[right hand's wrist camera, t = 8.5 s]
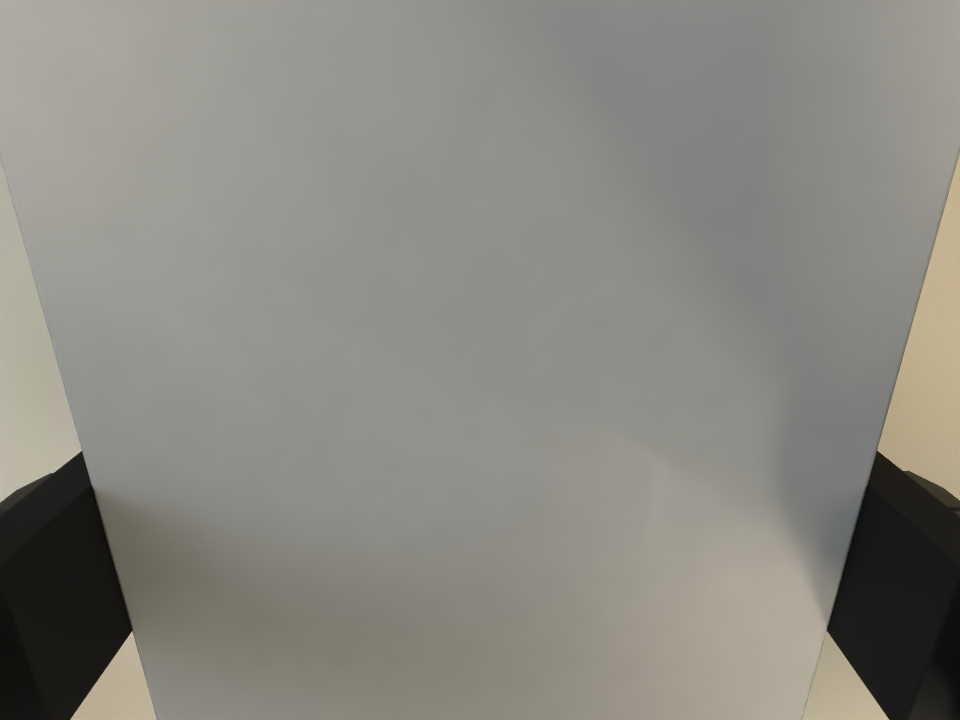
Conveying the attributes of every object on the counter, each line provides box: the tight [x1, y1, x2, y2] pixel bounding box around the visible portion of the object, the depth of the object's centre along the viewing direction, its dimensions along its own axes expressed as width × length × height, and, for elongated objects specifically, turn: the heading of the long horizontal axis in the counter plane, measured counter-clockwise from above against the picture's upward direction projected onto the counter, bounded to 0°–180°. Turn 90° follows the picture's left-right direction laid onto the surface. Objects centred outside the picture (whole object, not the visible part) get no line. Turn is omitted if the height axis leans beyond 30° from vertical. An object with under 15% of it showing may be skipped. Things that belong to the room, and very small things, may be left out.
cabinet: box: [0, 0, 960, 720], centre depth 12 cm, size 17×11×9 cm, turn 0°
